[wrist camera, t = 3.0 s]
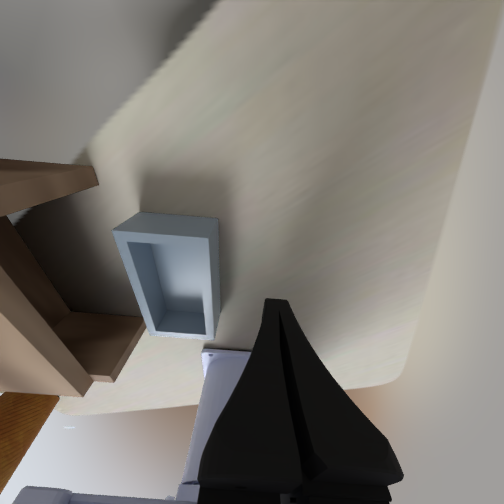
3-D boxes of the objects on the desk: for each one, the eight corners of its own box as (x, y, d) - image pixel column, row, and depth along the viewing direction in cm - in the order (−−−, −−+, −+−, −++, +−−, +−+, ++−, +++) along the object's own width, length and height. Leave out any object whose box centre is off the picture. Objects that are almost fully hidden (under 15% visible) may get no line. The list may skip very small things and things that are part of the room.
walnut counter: (92, 166, 11) (-63, 198, 5) (148, 324, 18) (104, 399, 13) (-52, 154, 10) (-344, 174, 5) (64, 317, 18) (-12, 390, 13)
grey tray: (219, 216, 12) (208, 238, 10) (221, 309, 17) (214, 340, 15) (142, 209, 12) (111, 230, 10) (166, 305, 17) (149, 335, 14)
